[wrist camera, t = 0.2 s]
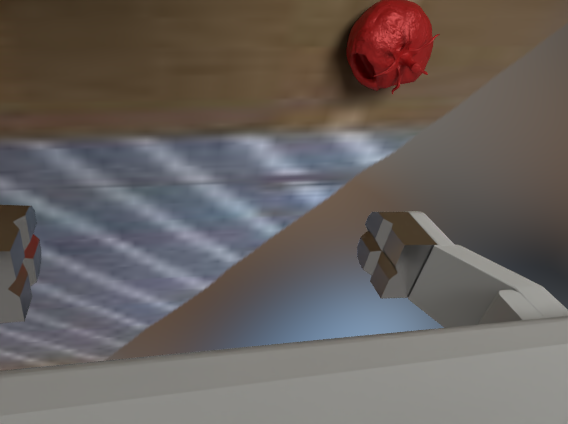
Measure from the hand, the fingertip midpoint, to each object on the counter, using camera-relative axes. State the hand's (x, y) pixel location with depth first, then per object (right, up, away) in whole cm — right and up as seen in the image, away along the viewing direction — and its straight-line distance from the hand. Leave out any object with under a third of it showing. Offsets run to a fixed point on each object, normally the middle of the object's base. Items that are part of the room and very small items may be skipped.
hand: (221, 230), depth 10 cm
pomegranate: (+13, +22, +39) cm, 46 cm away
